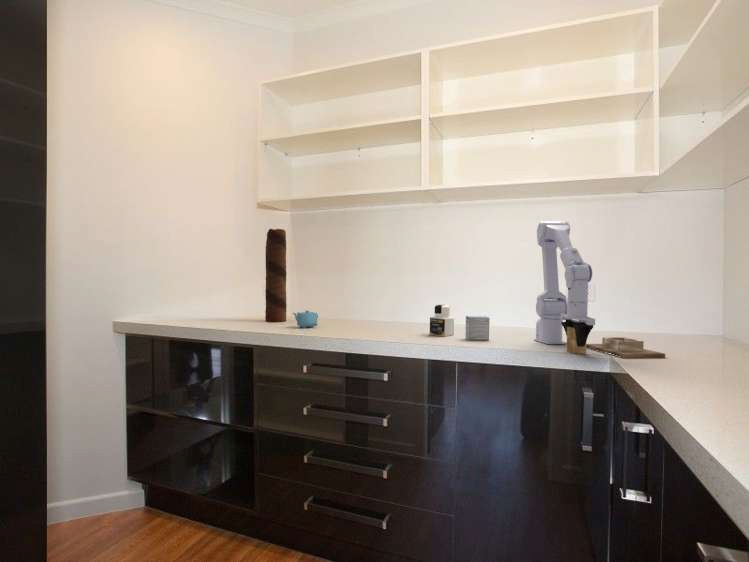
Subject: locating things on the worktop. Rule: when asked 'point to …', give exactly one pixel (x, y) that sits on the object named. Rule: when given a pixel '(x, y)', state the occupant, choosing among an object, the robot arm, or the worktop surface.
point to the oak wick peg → (573, 342)
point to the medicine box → (477, 327)
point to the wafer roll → (276, 276)
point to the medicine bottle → (442, 322)
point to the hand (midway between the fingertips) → (576, 345)
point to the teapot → (306, 319)
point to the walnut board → (625, 348)
